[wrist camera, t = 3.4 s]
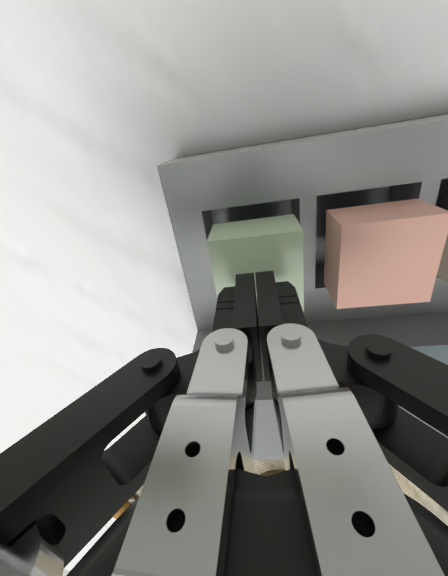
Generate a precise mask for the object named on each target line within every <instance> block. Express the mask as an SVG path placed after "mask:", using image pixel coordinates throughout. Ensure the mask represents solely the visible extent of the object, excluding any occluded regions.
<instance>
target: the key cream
mask: <svg viewBox="0 0 448 576" xmlns="http://www.w3.org/2000/svg"><path fill="white" fill-rule="evenodd" d="M440 208H442V209H445V210H447V211H448V195H445V196H443V199H442V203H441V207H440ZM437 276H438V277H439V278H441V279H442V280H443V281H444V282H446V283H447V284H448V234H447V238H446V242H445V246H444V249H443V253H442V257H441V261H440V265H439V269H438V272H437Z"/></svg>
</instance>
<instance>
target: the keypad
mask: <svg viewBox="0 0 448 576" xmlns="http://www.w3.org/2000/svg"><path fill="white" fill-rule="evenodd" d="M157 167H158V171H159V175H160V179H161V183H162V187H163V191H164V195H165V199H166V203H167V207H168V211H169V215H170V219H171V223H172V228H173V232H174V236H175V240H176V244H177V248H178V252H179V256H180V260H181V264H182V268H183V272H184V276H185V280H186V284H187V288H188V292H189V296H190V300H191V304H192V309H193V313H194V317H195V321H196V325H197V329H198V332H197V336H196V340H195V344H194V349H193V352H196V351H198V350H199V349H200V348H201V345H202V342H203V340H204V339H205V338H206V337H207V336H208V335H209V334H210V333H212V328H213V322H214V316H215V310H216V304H217V294H216V289H215V284H214V279H213V273H212V268H211V263H210V257H209V252H208V247H207V239H208V236H209V234H210V231H211V228H212V225H213V224H219V223H227V222H235V221H243V220H251V219H259V218H267V217H274V216H282V215H290V214H294V215H295V217H296V218H297V220H298V222H299V224H300V226H301V227H302V229H303V263H304V312H303V313H304V316H305V320H306V323H307V326H308V328H309V329H310V330H312V331H313V332H314V334H315V336H316V338H318V339H320V340H322V341H324V342H327V343H331V344H337V345H343V346H349V343H350V342H351V341H352V340H353V339H354V338H356V337H358V336H361V335H367V334H375V335H381V336H385V337H389V338H391V339H394V340H396V341H398V342H400V343H402V344H404V345H406V346H408V347H411V348H413V349H415V350H417V351H419V352H421V353H423V354H426V355H428V356H430V357H432V358H434V359H436V360H438V361H441V362H443V363H445V364H447V365H448V284H447V283H446V282H444V281H443V280H442V279H441V278H439V277H438V276H436V280H435V284H434V288H433V292H432V295H431V299H430V302H420V303H407V304H394V305H381V306H369V307H356V308H343V309H336V307H335V305H334V303H333V301H332V299H331V297H330V295H329V293H328V291H327V289H326V287H325V285H324V263H325V233H326V210H330V209H338V208H346V207H354V206H362V205H370V204H377V203H385V202H393V201H401V200H409V199H420V200H422V201H425V202H427V203H430V204H432V205H435V206H437V207H441V203H442V199H443V196H445V195H448V114H444V115H438V116H432V117H425V118H419V119H413V120H407V121H401V122H395V123H389V124H382V125H376V126H370V127H364V128H358V129H352V130H346V131H340V132H333V133H327V134H321V135H315V136H309V137H303V138H297V139H290V140H284V141H278V142H272V143H266V144H260V145H254V146H248V147H241V148H235V149H229V150H223V151H217V152H211V153H205V154H199V155H192V156H186V157H180V158H175V159H173V160H170V161H168V162H165V163H163V164H160V165H158V166H157ZM260 347H261V341H260ZM261 361H262V376H263V382H256V384H257V395H256V422H255V443H254V460H283V455H282V449H281V444H280V439H279V433H278V428H277V423H276V417H275V412H274V407H273V399H272V389H271V381H265V378H264V369H263V359H262V350H261ZM399 407H400V406H399ZM400 408H401V409H403V408H402V407H400ZM403 410H405V409H403ZM405 411H406V412H408V411H407V410H405ZM408 413H409V414H411V413H410V412H408ZM411 415H412V416H414V415H413V414H411ZM414 417H416V416H414ZM416 418H417V419H419V418H418V417H416ZM419 420H420V421H422V420H421V419H419ZM422 422H423V423H425V422H424V421H422ZM425 424H426V425H428V426H430V425H429V424H427V423H425ZM430 427H431V428H433V427H432V426H430ZM433 429H434V430H436V429H435V428H433ZM436 431H437V432H439V433H440V434H442V435H444V434H443V433H441V432H440V431H438V430H436ZM444 436H445V437H447V436H446V435H444ZM447 438H448V437H447Z"/></svg>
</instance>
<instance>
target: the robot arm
mask: <svg viewBox="0 0 448 576" xmlns="http://www.w3.org/2000/svg"><path fill="white" fill-rule="evenodd" d="M255 276H256V288H255V279H254V273H244V274H236V280H235V286H233V287H224V288H223V289H222V291H221V292H220V293H219V294H218V298H217V304H216V310H215V316H214V322H213V328H212V333H210V334H209V335H208V336H207V337H206V338H205V339H204V340H203V342H202V345H201V348H200V349H199V350H198V351H196V352H193V353H191V354H188V355H184V356H181V357H178V358H176V356H175V354H174V353H173V352H172V351H171V350H169V349H166V348H156V349H151V350H148V351H146V352H144V353H142V354H140V355H139V356H137V357H136V358H135V359H133V360H132V361H130V362H129V363H128V364H126V365H125V366H123V367H122V368H121V369H119V370H118V371H116V372H115V373H113V374H112V375H111V376H109V377H108V378H106V379H105V380H104V381H102V382H101V383H99V384H98V385H97V386H95V387H94V388H92V389H91V390H90V391H88V392H87V393H85V394H84V395H82V396H81V397H80V398H78V399H77V400H75V401H74V402H73V403H71V404H70V405H68V406H67V407H66V408H64V409H63V410H61V411H60V412H58V413H57V414H56V415H54V416H53V417H51V418H50V419H49V420H47V421H46V422H44V423H43V424H42V425H40V426H39V427H37V428H36V429H35V430H33V431H32V432H30V433H29V434H27V435H26V436H25V437H23V438H22V439H20V440H19V441H18V442H16V443H15V444H13V445H12V446H11V447H9V448H8V449H6V450H5V451H4V452H2V453H1V454H0V576H62V574H63V569H64V568H65V567H66V565H67V564H68V563H69V562H70V561H71V560H72V559H73V558H74V557H75V556H76V555H77V554H78V553H79V552H80V551H81V550H82V549H83V548H84V547H85V545H86V544H87V543H88V542H89V541H90V540H91V539H92V538H93V537H94V536H95V535H96V534H97V533H98V532H99V531H100V530H101V529H102V528H103V526H104V525H105V524H106V523H107V522H108V521H109V520H110V519H111V518H112V517H113V516H114V515H115V514H116V513H117V512H118V511H119V510H120V509H121V508H122V506H123V505H124V504H125V503H126V502H127V501H128V500H129V499H130V498H131V497H132V496H133V495H134V494H135V493H136V492H137V491H138V490H139V489H140V487H141V486H142V485H143V484H144V485H143V488H142V491H141V494H140V496H139V498H138V499H136V500H135V501H134V502H133V503H132V504H131V505H130V506H129V507H128V508H127V509H126V510H125V511H124V512H123V513H122V514H121V515H120V516H119V517H118V518H117V519H116V521H115V522H114V523H113V524H112V525H111V526H110V527H109V528H108V530H107V531H106V532H105V533H104V534H103V535H102V536H101V537H100V539H99V540H98V541H97V542H96V543H95V544H94V545H93V546H92V548H91V549H90V550H89V551H88V552H87V553H86V554H85V555H84V557H83V558H82V559H81V560H80V561H79V562H78V563H77V564H76V566H75V567H74V568H73V569H72V570H71V571H70V572H69V573H68V575H67V576H448V526H447V525H446V524H444V523H443V522H442V521H441V520H440V519H439V518H437V517H436V516H435V515H434V514H433V513H431V512H430V511H429V510H427V509H426V508H425V507H423V506H422V505H421V504H419V503H418V502H417V501H415V500H413V499H412V498H410V497H409V496H407V495H405V494H404V493H403V492H402V490H401V488H400V486H399V484H398V482H397V480H396V478H395V476H394V474H393V472H392V470H391V468H390V466H389V464H390V465H391V466H392V467H394V468H395V469H396V470H397V471H399V472H400V473H401V474H402V475H404V476H405V477H406V478H407V479H408V480H410V481H411V482H412V483H413V484H415V485H416V486H417V487H418V488H420V489H421V490H422V491H423V492H424V493H426V494H427V495H428V496H429V497H431V498H432V499H433V500H434V501H435V502H437V503H438V504H439V505H440V506H442V507H443V508H444V509H445V510H447V511H448V438H447V437H448V365H447V364H445V363H443V362H441V361H438V360H436V359H434V358H432V357H430V356H428V355H426V354H423V353H421V352H419V351H417V350H415V349H413V348H411V347H408V346H406V345H404V344H402V343H400V342H398V341H396V340H394V339H391V338H389V337H385V336H381V335H375V334H367V335H361V336H358V337H356V338H354V339H353V340H352V341H351V342H350V343H349V346H343V345H337V344H331V343H327V342H324V341H322V340H320V339H318V338H316V336H315V334H314V332H313V331H312V330H310V329H309V328H308V326H307V323H306V320H305V316H304V313H303V310H302V307H301V304H300V301H299V297H298V294H297V291H296V288H295V287H294V286H293V285H292V284H291V283H290V282H288V281H284V282H275V277H274V272H273V270H272V271H263V272H255ZM256 291H257V298H256ZM257 306H258V307H257ZM260 341H261V347H260ZM261 350H262V359H263V369H264V378H265V381H271V389H272V399H273V407H274V412H275V417H276V423H277V428H278V433H279V439H280V444H281V449H282V455H283V460H284V466H285V471H283V472H279V473H276V474H273V475H269V476H262V475H258V474H254V443H255V422H256V395H257V384H256V382H263V376H262V361H261ZM399 406H400V407H402V408H403V409H405V410H407V411H408V412H410V413H411V414H413V415H414V416H416V417H418V418H419V419H421V420H422V421H424V422H425V423H427V424H429V425H430V426H432V427H433V428H435V429H436V430H438V431H440V432H441V433H443V434H444V435H446V436H447V437H445V436H444V435H442V434H440V433H439V432H437V431H436V430H434V429H433V428H431V427H430V426H428V425H426V424H425V423H423V422H422V421H420V420H419V419H417V418H416V417H414V416H412V415H411V414H409V413H408V412H406V411H405V410H403V409H401V408H400V407H399ZM144 412H145V413H146V416H145V417H144V418H143V419H141V420H140V421H139V422H138V423H137V424H136V425H135V426H134V427H132V428H131V429H130V430H129V431H128V432H127V433H126V434H124V435H123V436H122V437H121V438H120V439H119V440H118V441H116V442H115V443H114V444H113V445H112V446H111V447H110V448H108V449H107V450H105V451H104V449H105V448H106V446H107V445H108V444H109V443H110V442H111V441H112V440H113V439H114V438H115V437H116V436H117V435H119V434H120V433H121V432H122V431H123V430H124V429H126V428H127V427H128V426H129V425H130V424H131V423H132V422H134V421H135V420H136V419H137V418H138V417H139V416H140V415H142V414H143V413H144ZM388 463H389V464H388Z"/></svg>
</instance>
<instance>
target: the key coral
mask: <svg viewBox="0 0 448 576" xmlns="http://www.w3.org/2000/svg"><path fill="white" fill-rule="evenodd" d="M447 234H448V211H447V210H445V209H442V208H440V207H437V206H435V205H432V204H430V203H427V202H425V201H422V200H420V199H409V200H401V201H393V202H385V203H377V204H370V205H362V206H354V207H346V208H338V209H330V210H326V233H325V263H324V285H325V287H326V289H327V291H328V293H329V295H330V297H331V299H332V301H333V303H334V305H335V307H336V309H343V308H356V307H369V306H381V305H394V304H407V303H420V302H430V299H431V295H432V292H433V288H434V284H435V280H436V276H437V272H438V269H439V265H440V261H441V257H442V253H443V249H444V246H445V242H446V238H447Z"/></svg>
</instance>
